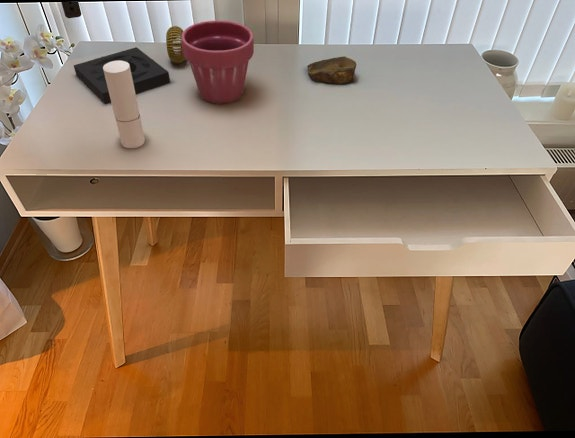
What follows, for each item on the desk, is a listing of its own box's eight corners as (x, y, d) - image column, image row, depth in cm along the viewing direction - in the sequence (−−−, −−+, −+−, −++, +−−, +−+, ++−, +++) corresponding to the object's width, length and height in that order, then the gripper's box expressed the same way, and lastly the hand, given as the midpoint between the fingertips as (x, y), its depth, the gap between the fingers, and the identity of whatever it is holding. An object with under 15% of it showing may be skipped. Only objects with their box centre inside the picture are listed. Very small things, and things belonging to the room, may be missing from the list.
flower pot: (266, 101, 107) (265, 41, 98) (203, 117, 102) (196, 56, 93) (238, 71, 116) (235, 14, 107) (179, 85, 111) (170, 26, 102)
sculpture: (171, 53, 121) (166, 20, 116) (188, 53, 122) (184, 20, 116) (168, 69, 116) (163, 35, 110) (186, 69, 116) (182, 34, 110)
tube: (134, 150, 93) (116, 75, 83) (116, 143, 95) (97, 68, 84) (149, 139, 96) (135, 64, 86) (132, 132, 97) (115, 58, 87)
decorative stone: (310, 86, 112) (311, 71, 109) (305, 65, 118) (305, 51, 116) (357, 84, 112) (359, 69, 110) (349, 64, 119) (351, 49, 117)
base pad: (105, 104, 105) (102, 93, 103) (76, 75, 113) (73, 65, 111) (170, 82, 112) (168, 71, 110) (138, 57, 120) (136, 47, 118)
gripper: (-1, -135, 67) (39, -8, 78) (3, -113, 58) (47, 28, 69) (59, -138, 69) (89, -14, 81) (72, -117, 60) (104, 20, 71)
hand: (70, 5), depth 75 cm, fingers open, 8 cm apart
